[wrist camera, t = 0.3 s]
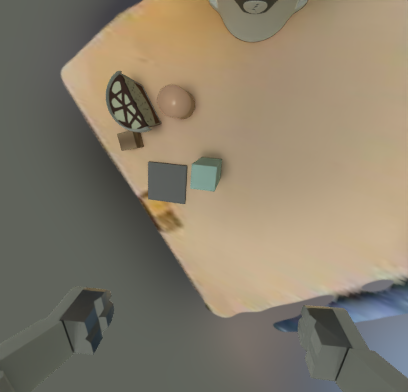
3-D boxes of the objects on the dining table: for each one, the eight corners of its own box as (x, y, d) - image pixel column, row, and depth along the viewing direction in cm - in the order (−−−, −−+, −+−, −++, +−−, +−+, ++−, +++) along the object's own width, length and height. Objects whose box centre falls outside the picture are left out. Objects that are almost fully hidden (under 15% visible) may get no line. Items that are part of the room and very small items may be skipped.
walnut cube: (125, 133, 55) (117, 133, 52) (139, 130, 55) (132, 130, 51) (129, 149, 56) (121, 150, 53) (144, 146, 56) (136, 148, 52)
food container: (118, 92, 53) (91, 85, 43) (139, 79, 51) (115, 68, 41) (144, 140, 55) (123, 143, 46) (164, 129, 53) (147, 129, 44)
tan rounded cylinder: (170, 90, 50) (157, 83, 43) (195, 91, 50) (187, 85, 42) (169, 117, 52) (157, 116, 45) (194, 119, 51) (185, 118, 44)
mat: (149, 161, 56) (148, 161, 56) (187, 165, 55) (186, 166, 54) (149, 198, 60) (148, 199, 59) (185, 203, 58) (184, 204, 57)
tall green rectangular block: (201, 157, 54) (190, 164, 43) (222, 159, 53) (216, 166, 43) (199, 176, 55) (189, 188, 45) (219, 179, 55) (214, 191, 44)
